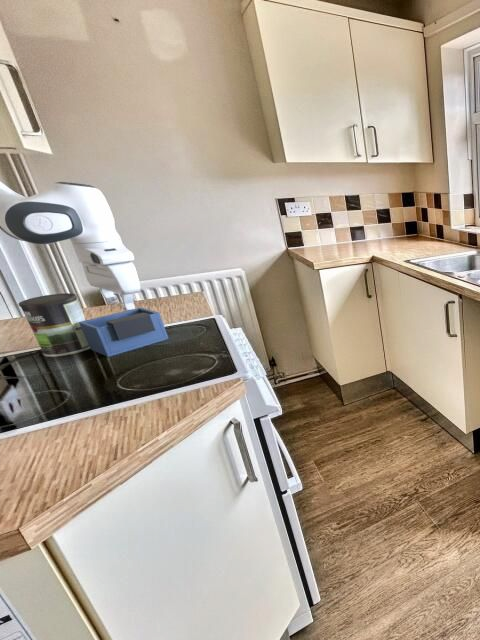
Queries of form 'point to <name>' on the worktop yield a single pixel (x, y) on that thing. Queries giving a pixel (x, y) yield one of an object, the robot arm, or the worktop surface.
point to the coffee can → (56, 323)
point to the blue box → (107, 341)
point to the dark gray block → (132, 325)
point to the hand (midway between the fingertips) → (121, 306)
